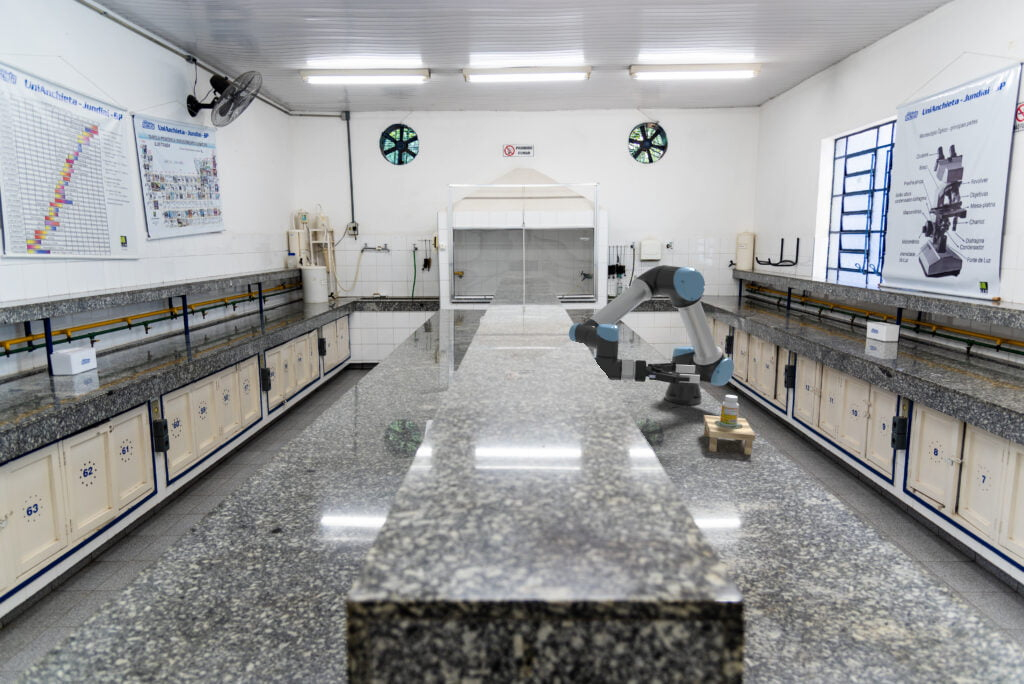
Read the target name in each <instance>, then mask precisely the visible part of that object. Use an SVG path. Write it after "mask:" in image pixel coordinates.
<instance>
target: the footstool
mask: <svg viewBox="0 0 1024 684" xmlns="http://www.w3.org/2000/svg"><path fill="white" fill-rule="evenodd" d="M720 419H721V415H710V414H709V415H708V414H707V415H706V414H703V423H704V426H703V427H704V429H703V436H704V437H707V438H709V446H708V451H709V452H717V445H718V438H719V439H729V440H738V441H744V444H743V445H744V446H743V453H744V455H745V454H746V455H747V456H752V450H753V443H754V442H756V434H755V432H754V431H753V429H752V427H751V426H750V424H749V422H748V421H747V419H746V418H741V417H738V419H737V425H736V426H726V425H723V424H721V423H720Z"/></svg>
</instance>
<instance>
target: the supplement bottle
mask: <svg viewBox="0 0 1024 684" xmlns="http://www.w3.org/2000/svg"><path fill="white" fill-rule="evenodd" d="M738 399H739V398H738V396H737V395H735V394H726V395H725V397H724V401H723V402H722V404H721V412H720V416H721V419H720V423H721V424H723V425H726V426H736V425H737V419H738V418H739V410H740V404H739V403H738Z"/></svg>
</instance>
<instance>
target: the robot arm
mask: <svg viewBox="0 0 1024 684" xmlns="http://www.w3.org/2000/svg"><path fill="white" fill-rule="evenodd" d="M705 283H706V281H705V277H704V276H703V274H702V273H701V272H700V271H699V270H697V269H696V268H691V267H688V266H674V265H668V264H663V265H661V264H660V265H657V266H654V267H652V268H650V269H648V270H646V271H644V272H643V273H642V274H640V275H638V276H637V277H636V278H635V279H634V280H632V281H631V285H630V286H629V287H628V288H626V289H625V290H624V291H623V292H621V293H620V294H618V295H617V296H616V297H615V298H614V299H612V300H611V301H610V302H608V303H607V304H606V305H605V306H604V307H602V308H601V309H599V310H598V311H597V312H596V313H595V314H593V315H592V316H591V317H589V318H588V319H586V320H585V321H584V322H583V323H581V322H580V323H577V322H576V323H573V324H572V325H571V326H570V328H569V331H568V336H569V340H570V341H571V342H572V341H575V342H579V343H584V344H585V345H586V346H585V347H587V348H591V349H594V350H596V351H595V356H594V357H593V358H594V359H595V360H596V362H597V364H598V365H599V366H600V368H601V369H602V370H603V371H604V372H605V373H606V375H607V376H608V378H609V379H610V380H609V381H623V382H624V383H628V382H633V381H634V382H636V383H637V382H638V383H645V382H646V380H647V377H648V380H649V381H656V382H657V381H658V382H664V383H668V386H667V388H666V390H665V393H664V399H665V400H666V401H668V402H671V403H675V404H678V405H689V406H690V405H691V406H692V405H693V406H694V405H700V404H701V403H702V401H703V398H702V397H703V396H702V391H701V387H700V382H703V383H706V384H708V385H709V384H710V385H712V386H719V387H721V386H724V385H726V384H728V383H729V381H730V380H731V378H732V376H733V373H734V371H735V364H734V361H733V359H731V358H730V357H725V354H724V352H723V349H722V348H721V347H719V346H717V344H716V341H715V339H714V335H713V333H712V330H711V328H710V325H709V322H708V319H707V316H706V314H705V311H704V308H703V306H702V302H701V300H702V299H703V294H704V292H705V286H706V284H705ZM657 296H662V297H668V298H669V300H670V304H671V305H672V307H673V308H675V309H677V310H678V312H679V315H680V318H681V320H682V323H683V326H684V328H685V331H686V333H687V336H688V339H689V342H690V343H691V346H678V347H675V348H674V349H673V351H672V357H671V358H672V359H671V362H664V363H662V362H661V363H647V361H646V360H643V359H642V360H641V359H636V360H634V359H628V358H627V359H624V358H622V359H621V358H619V357H618V356H619V343H620V332H619V331H620V329H619V326H618V325H616V324H617V323H618V322H619V321H620V320H621V319H623V318H624V317H625V316H627V315H628V314H630V312H632V311H633V310H634V309H636V308H637V307H638V306H639V305H640V304H642V303H643V302H645V301H647V302H648V301H650V300H651V299H652V298H654V297H657Z"/></svg>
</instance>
